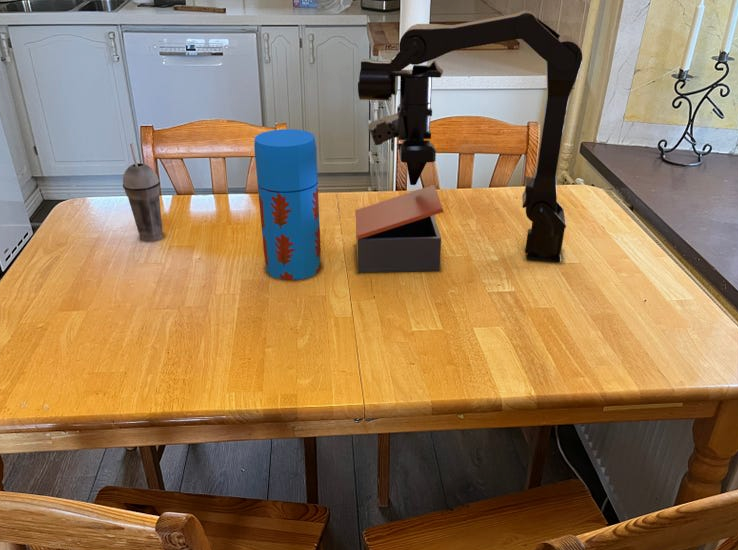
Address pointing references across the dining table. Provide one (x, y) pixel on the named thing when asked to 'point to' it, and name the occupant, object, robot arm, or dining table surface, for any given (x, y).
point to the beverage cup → (144, 199)
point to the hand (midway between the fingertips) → (412, 184)
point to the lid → (397, 211)
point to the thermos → (288, 202)
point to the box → (401, 248)
